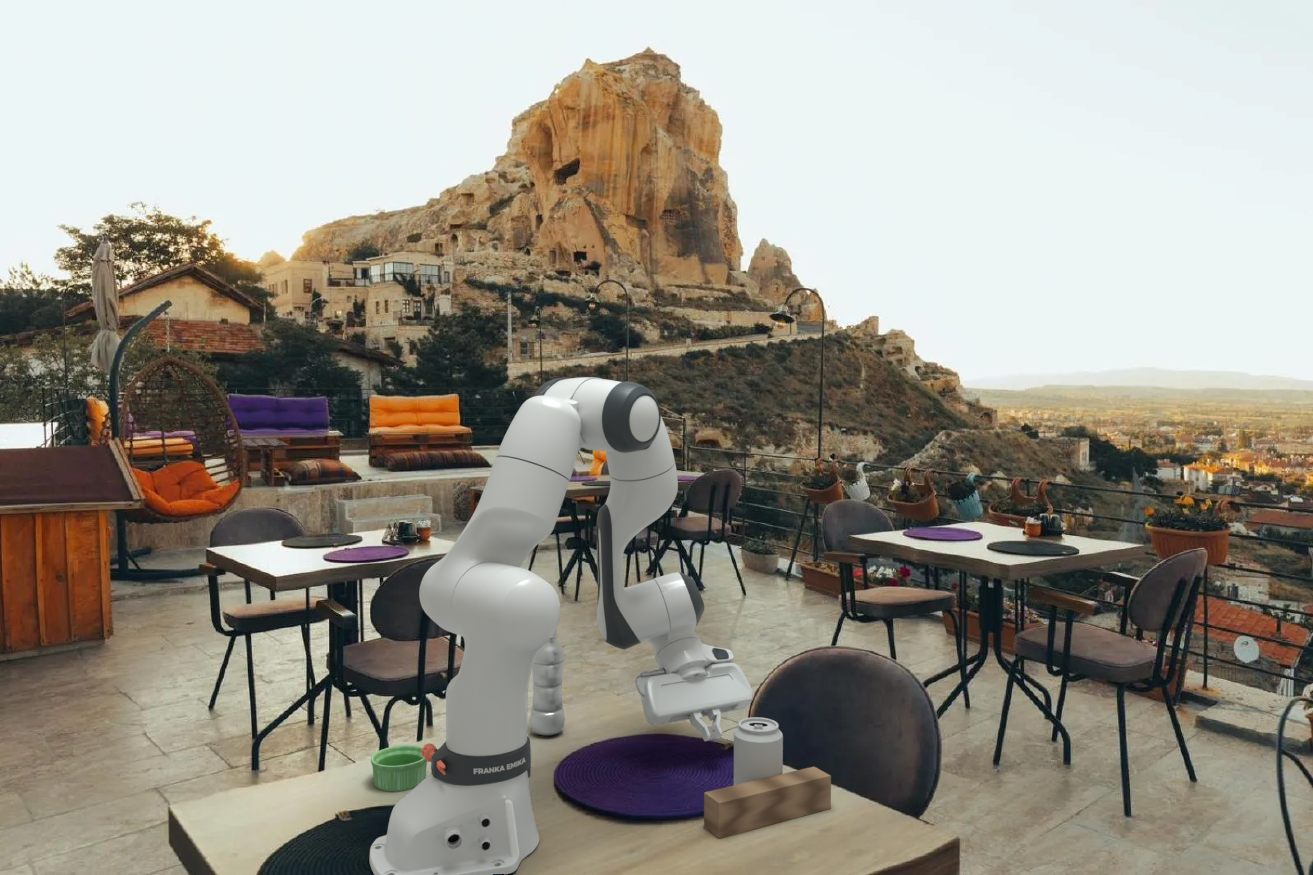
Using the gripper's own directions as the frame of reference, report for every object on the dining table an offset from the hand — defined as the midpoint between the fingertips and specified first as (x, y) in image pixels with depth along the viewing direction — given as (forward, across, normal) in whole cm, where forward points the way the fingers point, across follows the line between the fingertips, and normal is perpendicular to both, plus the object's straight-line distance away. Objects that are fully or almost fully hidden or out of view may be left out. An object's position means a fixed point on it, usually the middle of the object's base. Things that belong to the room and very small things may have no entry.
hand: (713, 738), depth 145 cm
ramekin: (-10, -47, +18) cm, 52 cm away
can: (+13, 0, -5) cm, 14 cm away
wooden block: (+17, -2, -9) cm, 19 cm away
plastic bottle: (-17, -18, +25) cm, 35 cm away
